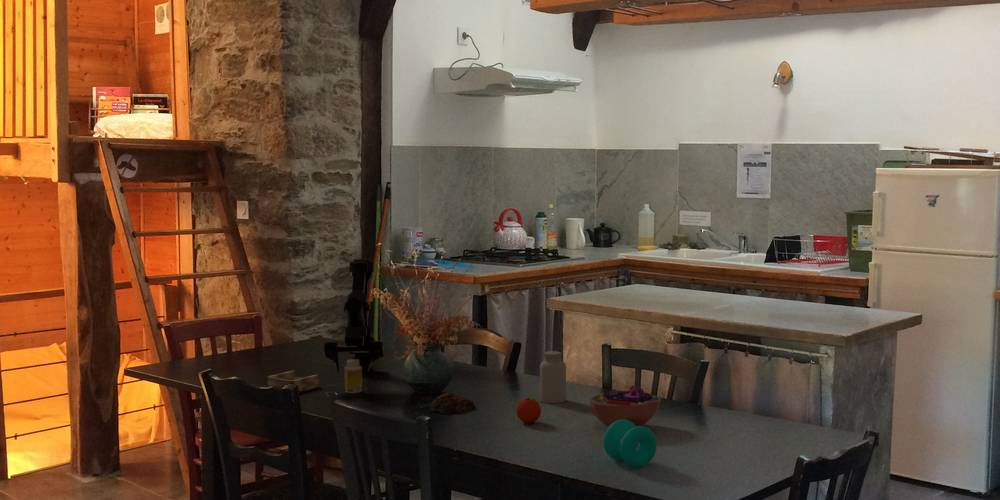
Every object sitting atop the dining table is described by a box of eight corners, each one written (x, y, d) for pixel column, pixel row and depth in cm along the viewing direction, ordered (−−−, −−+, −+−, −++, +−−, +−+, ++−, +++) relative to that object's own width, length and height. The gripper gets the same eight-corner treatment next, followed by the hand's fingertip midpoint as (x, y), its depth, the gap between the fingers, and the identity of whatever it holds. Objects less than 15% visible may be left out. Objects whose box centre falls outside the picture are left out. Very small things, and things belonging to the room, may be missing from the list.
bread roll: (445, 403, 313) (445, 386, 313) (479, 408, 307) (479, 391, 306) (421, 411, 302) (420, 395, 302) (456, 417, 296) (456, 400, 295)
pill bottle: (535, 402, 312) (535, 353, 311) (546, 397, 319) (546, 349, 318) (559, 405, 308) (559, 355, 307) (570, 399, 316) (570, 351, 314)
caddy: (292, 382, 341) (292, 370, 341) (319, 386, 334) (319, 374, 334) (265, 389, 331) (265, 376, 331) (292, 393, 325) (292, 381, 324)
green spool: (634, 455, 256) (634, 416, 255) (659, 465, 247) (659, 425, 246) (601, 461, 251) (601, 421, 251) (624, 472, 243) (625, 430, 242)
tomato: (538, 418, 293) (538, 393, 292) (548, 424, 286) (548, 399, 286) (512, 421, 290) (512, 396, 289) (521, 427, 283) (521, 401, 283)
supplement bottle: (365, 392, 327) (365, 360, 326) (350, 394, 323) (349, 362, 322) (356, 389, 331) (355, 357, 330) (341, 391, 327) (340, 359, 327)
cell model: (578, 423, 287) (579, 383, 286) (642, 417, 294) (642, 378, 293) (606, 439, 271) (606, 396, 270) (672, 431, 278) (672, 390, 277)
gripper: (324, 316, 329) (320, 357, 319) (382, 316, 330) (380, 356, 320) (327, 337, 337) (324, 377, 327) (384, 336, 338) (382, 376, 328)
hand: (352, 371), depth 325 cm, fingers open, 9 cm apart
